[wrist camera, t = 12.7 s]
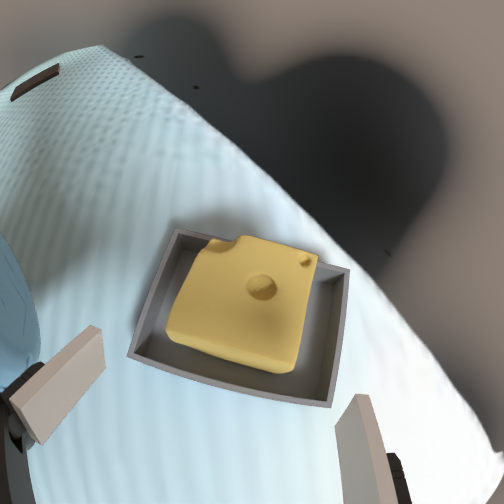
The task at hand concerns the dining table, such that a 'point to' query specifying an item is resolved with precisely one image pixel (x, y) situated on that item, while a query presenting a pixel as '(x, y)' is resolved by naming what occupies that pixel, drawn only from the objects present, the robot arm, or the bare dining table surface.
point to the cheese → (245, 303)
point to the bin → (236, 375)
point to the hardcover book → (35, 81)
